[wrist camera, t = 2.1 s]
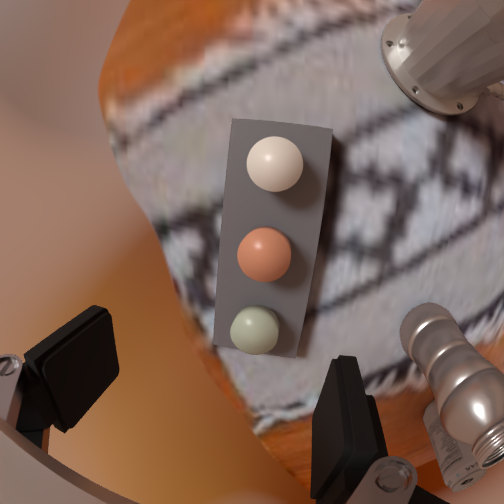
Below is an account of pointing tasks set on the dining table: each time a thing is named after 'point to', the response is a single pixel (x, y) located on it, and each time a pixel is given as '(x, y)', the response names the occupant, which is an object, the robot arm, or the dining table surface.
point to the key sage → (255, 329)
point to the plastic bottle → (458, 381)
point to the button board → (275, 215)
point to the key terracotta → (264, 254)
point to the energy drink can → (451, 454)
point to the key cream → (274, 164)
